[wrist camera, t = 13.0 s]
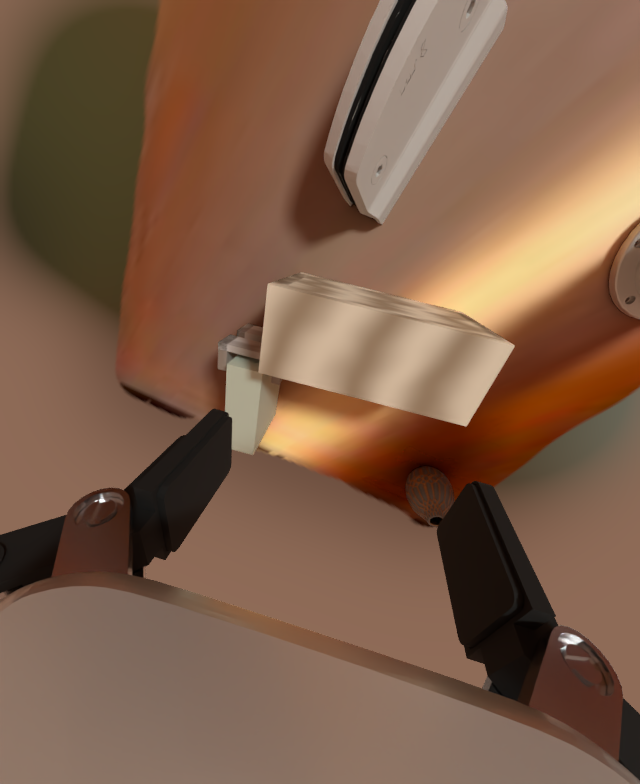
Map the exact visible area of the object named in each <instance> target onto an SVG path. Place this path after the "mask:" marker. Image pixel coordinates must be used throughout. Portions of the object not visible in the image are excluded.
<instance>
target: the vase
mask: <svg viewBox="0 0 640 784" xmlns="http://www.w3.org/2000/svg"><path fill="white" fill-rule="evenodd" d="M405 489H406V496H407V499H408V502H409V504H410V506H411V507H412V509H413V510H414V511H415V512H416V513H417V514H418V515H419V516H421V517H422V518H424V519H425V520H426V521H427V522H428V524H429V525H431V526H433V527H438V525H439V524H440V522H441V521H442V519H443V518H444V516H445V515H446V514H447V512H448V511H449V509H450V508H451V506H452V505H453V503H454V492H453V488H452V486H451V484H450V482H449V480H448V479H447V477H446V476H445V475H444V474H443V473H442V472H441V471H439V470H438V469H436V468H433V467H429V466H422V467H418V468H416V469H414V470H413V471H412V472H411V473H410V474H409V475H408V478H407V480H406V486H405Z"/></svg>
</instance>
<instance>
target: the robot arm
mask: <svg viewBox="0 0 640 784" xmlns="http://www.w3.org/2000/svg"><path fill="white" fill-rule="evenodd" d="M609 291H610V295H611V298H612V300H613V302H614V304H615V305H616V306H617V307H618V309H619V310H620V311H622V312H623V313H625V314H626V315H628V316H631V317H633V318H636V319H640V223H639V224H638V225H637V226H636V227H635V228H634V229H633V231H632V232H631V233H630V234H629V236H628V237H627V238H626V240H625V241H624V243H623V244H622V245H621V247H620V249H619V251H618V253H617V255H616V257H615V259H614V262H613V265H612V267H611V270H610V277H609ZM231 452H232V417H229V414H228V413H227V412H224V411H221V410H217V409H212V410H211V411H210V412H209V413H208V414H207V415H206V416H205V417H204V418H203V419H202V420H201V421H200V422H199V423H198V424H197V425H196V426H195V427H194V428H193V429H192V430H191V431H190V432H189V433H188V434H187V435H183V436H181V437H180V438H178V439H177V440H176V441H175V442H174V443H173V444H172V445H171V446H169V447H168V448H167V449H166V450H165V451H164V452H163V453H162V454H161V455H160V456H159V457H158V458H157V459H156V460H155V461H154V462H153V463H152V464H151V465H150V466H149V467H147V469H145V470H144V471H143V472H142V473H141V474H140V475H139V476H138V477H137V478H136V479H135V480H134V481H133V482H132V483H131V484H130V485H129V486H128V487H127V488H126V489H124V490H122V489H119V488H104V489H100V490H97V491H94V492H91V493H89V494H87V495H85V496H84V497H82V498H81V499H79V500H78V501H77V502H75V503H74V504H73V506H72V507H71V508H70V509H69V511H68V513H67V515H64V516H61V517H58V518H55V519H51V520H48V521H45V522H41V523H38V524H35V525H31V526H28V527H25V528H22V529H19V530H15V531H12V532H9V533H6V534H2V535H0V784H640V714H639V713H638V712H637V711H636V710H635V709H634V708H633V707H632V706H631V705H629V703H628V702H626V701H625V699H623V692H622V686H621V684H620V681H619V679H618V676H617V674H616V672H615V671H614V669H613V667H612V666H611V665H610V663H609V661H608V660H607V659H606V657H605V656H604V655H603V654H602V653H601V651H600V650H599V649H598V648H597V647H596V646H595V645H594V644H593V643H592V642H591V641H590V640H589V639H587V638H586V637H585V636H583V635H582V634H581V633H579V632H578V631H576V630H574V629H572V628H570V627H566V626H558V624H557V622H556V620H555V618H554V617H555V616H556V615H555V614H554V611H553V609H552V607H551V605H550V603H549V601H548V599H547V597H546V595H545V593H544V590H543V588H542V586H541V584H540V582H539V580H538V578H537V576H536V574H535V572H534V570H533V568H532V566H531V564H530V561H529V559H528V558H527V555H526V553H525V551H524V549H523V547H522V545H521V543H520V541H519V539H518V537H517V535H516V533H515V531H514V528H513V526H512V524H511V522H510V520H509V518H508V516H507V514H506V512H505V510H504V508H503V506H502V503H501V501H500V499H499V497H498V495H497V493H496V491H495V489H494V488H493V486H491V485H488V484H484V483H481V482H477V481H474V482H472V483H471V484H470V483H468V484H467V485H466V486H465V487H464V489H463V490H462V492H461V493H460V495H459V496H458V498H457V499H456V500H455V502H454V503H453V505H452V506H451V508H450V509H449V511H448V512H447V514H446V515H445V516H444V518H443V519H442V521H441V522H440V524H439V525H438V529H437V536H438V541H439V546H440V551H441V556H442V560H443V565H444V570H445V575H446V580H447V585H448V590H449V595H450V599H451V605H452V609H453V614H454V619H455V624H456V628H457V634H458V637H459V641H460V643H461V644H462V645H464V647H465V652H466V656H467V658H468V659H471V660H474V661H477V662H480V663H483V664H485V667H486V671H487V675H488V676H487V678H486V680H485V683H484V685H483V687H482V689H481V688H479V687H476V686H473V685H470V684H467V683H465V682H462V681H459V680H456V679H453V678H450V677H447V676H444V675H441V674H438V673H435V672H433V671H430V670H427V669H424V668H421V667H418V666H415V665H412V664H409V663H406V662H403V661H400V660H397V659H394V658H391V657H388V656H385V655H382V654H379V653H376V652H373V651H370V650H367V649H364V648H361V647H358V646H355V645H352V644H349V643H346V642H343V641H340V640H337V639H334V638H331V637H328V636H325V635H322V634H319V633H316V632H313V631H310V630H307V629H304V628H301V627H298V626H295V625H292V624H289V623H286V622H283V621H280V620H277V619H274V618H271V617H268V616H265V615H261V614H258V613H255V612H252V611H249V610H246V609H243V608H240V607H237V606H234V605H230V604H228V603H225V602H222V601H218V600H215V599H212V598H209V597H206V596H203V595H200V594H196V593H193V592H190V591H186V590H183V589H180V588H177V587H174V586H170V585H167V584H163V583H160V582H157V581H154V580H149V579H146V566H147V565H149V563H150V562H151V561H152V559H153V558H154V557H157V558H160V559H163V560H166V558H167V557H168V555H169V554H170V552H171V551H172V552H175V551H176V550H177V549H178V548H179V547H180V545H181V544H182V542H183V541H184V539H185V538H186V536H187V535H188V533H189V532H190V530H191V529H192V527H193V526H194V524H195V523H196V521H197V519H198V518H199V517H200V515H201V513H202V512H203V511H204V509H205V508H206V506H207V505H208V503H209V502H210V500H211V498H212V497H213V495H214V494H215V492H216V491H217V489H218V488H219V486H220V485H221V483H222V482H223V480H224V479H225V477H226V476H227V474H228V473H229V471H230V468H231Z"/></svg>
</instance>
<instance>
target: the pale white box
mask: <svg viewBox="0 0 640 784" xmlns="http://www.w3.org/2000/svg"><path fill="white" fill-rule="evenodd" d="M259 362H260V360H259V359H255V358H251V357H248V356H244V355H240V354H238V355H237V356H236V357H235V358H233V359H232V360H231V361H230V362H229V363H227V372H226V398H225V412H227V413H228V414H229V417H232V450H236V451H240V452H243V453H247V454H251V455H253V454H254V453H255V451H256V449H257V447H258V445H259V443H260V442H261V440H262V438H263V436H264V434H265V432H266V431H267V429H268V427H269V425H270V423H271V421H272V420H273V418H274V416H275V414H276V408H277V401H278V395H279V388H280V385H278V384H274V383H271V378H272V376H269V375H266V374H262V373H258V371H259Z"/></svg>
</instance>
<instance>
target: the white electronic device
mask: <svg viewBox="0 0 640 784" xmlns="http://www.w3.org/2000/svg"><path fill="white" fill-rule="evenodd" d="M506 14H507V4H506V2H505V0H380V2H379V4H378V6H377V8H376V11H375V13H374V15H373V17H372V19H371V21H370V23H369V26H368V28H367V30H366V33H365V35H364V38H363V40H362V42H361V45H360V47H359V49H358V52H357V54H356V57H355V59H354V62H353V65H352V67H351V70H350V73H349V75H348V78H347V81H346V83H345V86H344V89H343V91H342V94H341V97H340V100H339V103H338V106H337V109H336V112H335V116H334V119H333V122H332V125H331V129H330V132H329V136H328V139H327V143H326V147H325V150H324V162H325V164H326V166H327V168H328V170H329V172H330V174H331V176H332V177H333V179H334V181H335V183H336V185H337V187H338V189H339V191H340V193H341V195H342V196H343V198H344V199H345V201H346V202H347V203H348V204H349V205H350V207H351V205H352V203H353V204H354V205H355V203H356V206H357V208H358V210H359V212H360V213H361V214H364V215H366V216H369V217H371V218H374V219H375V220H376V221H377V222H378V223H379V224H383V222H384V221H385V219H386V217H387V216H388V214H389V213H390V211H391V209H392V208H393V206H394V205H395V203H396V201H397V200H398V198H399V196H400V195H401V193H402V192H403V190H404V188H405V187H406V185H407V184H408V182H409V180H410V179H411V177H412V175H413V174H414V172H415V171H416V169H417V167H418V166H419V164H420V163H421V161H422V159H423V158H424V156H425V154H426V153H427V151H428V150H429V148H430V146H431V145H432V143H433V142H434V140H435V138H436V137H437V135H438V133H439V132H440V130H441V129H442V127H443V125H444V124H445V122H446V121H447V119H448V117H449V116H450V114H451V112H452V111H453V109H454V108H455V106H456V104H457V103H458V101H459V100H460V98H461V96H462V95H463V93H464V91H465V90H466V88H467V87H468V85H469V83H470V82H471V80H472V79H473V77H474V75H475V74H476V72H477V70H478V69H479V67H480V66H481V64H482V62H483V61H484V59H485V58H486V56H487V54H488V53H489V51H490V49H491V48H492V46H493V45H494V43H495V41H496V40H497V38H498V37H499V35H500V33H501V32H502V30H503V28H504V25H505V19H506Z"/></svg>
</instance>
